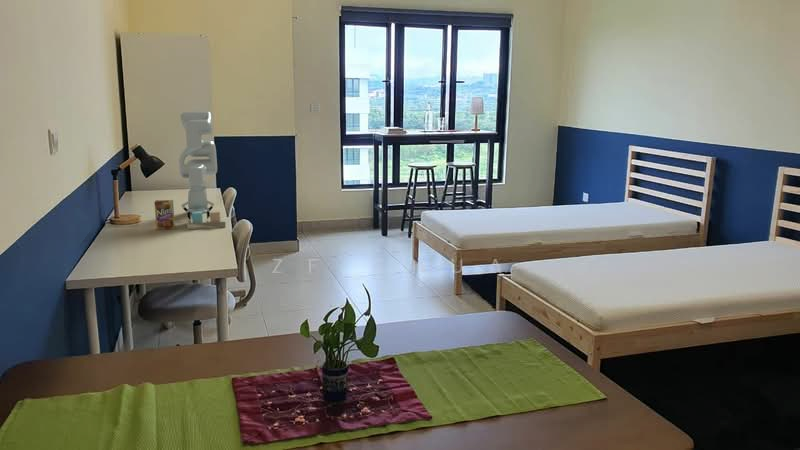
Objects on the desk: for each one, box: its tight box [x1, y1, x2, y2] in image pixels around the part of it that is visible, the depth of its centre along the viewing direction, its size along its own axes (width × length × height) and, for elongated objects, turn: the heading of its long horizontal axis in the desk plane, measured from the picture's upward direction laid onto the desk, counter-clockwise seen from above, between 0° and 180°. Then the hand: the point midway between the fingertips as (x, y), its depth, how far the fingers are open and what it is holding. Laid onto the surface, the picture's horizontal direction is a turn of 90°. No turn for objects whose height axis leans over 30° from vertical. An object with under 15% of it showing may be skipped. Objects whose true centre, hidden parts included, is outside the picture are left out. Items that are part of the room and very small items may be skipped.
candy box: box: [153, 199, 176, 230], centre depth 329 cm, size 9×4×15 cm, turn 98°
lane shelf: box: [186, 217, 227, 230], centre depth 337 cm, size 10×20×3 cm, turn 105°
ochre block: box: [209, 210, 221, 222], centre depth 337 cm, size 5×5×8 cm
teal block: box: [191, 211, 204, 223], centre depth 339 cm, size 16×5×8 cm, turn 15°
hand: (198, 218), depth 346 cm, fingers open, 9 cm apart
